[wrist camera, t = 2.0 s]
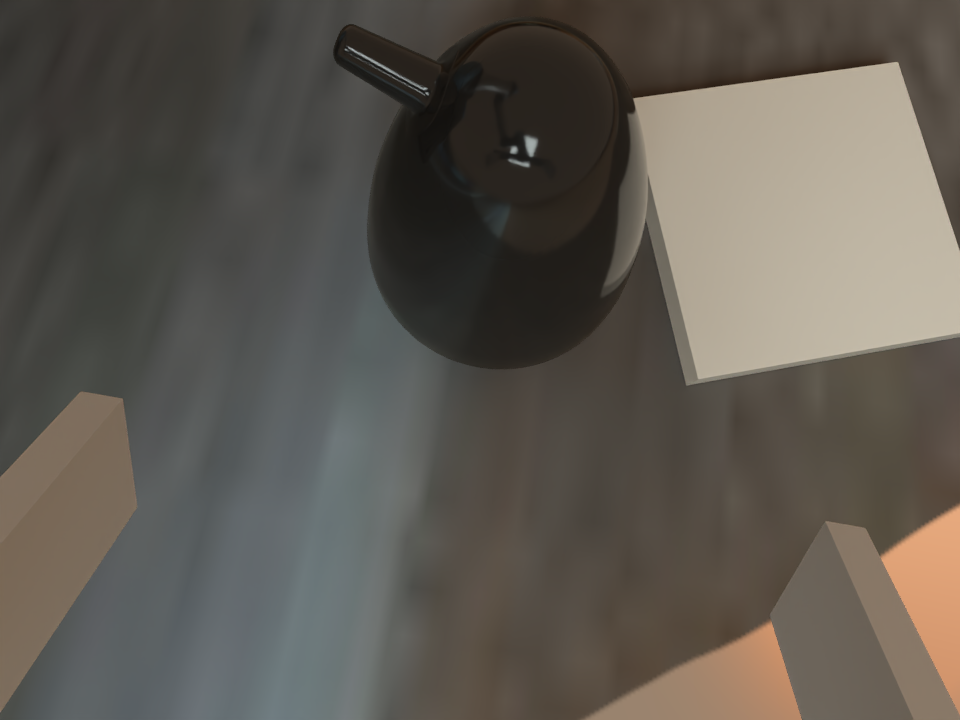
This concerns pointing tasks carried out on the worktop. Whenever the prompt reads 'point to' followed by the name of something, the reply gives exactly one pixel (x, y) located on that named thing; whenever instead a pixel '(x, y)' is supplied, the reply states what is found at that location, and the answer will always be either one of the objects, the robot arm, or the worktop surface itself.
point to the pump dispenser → (503, 189)
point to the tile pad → (797, 222)
